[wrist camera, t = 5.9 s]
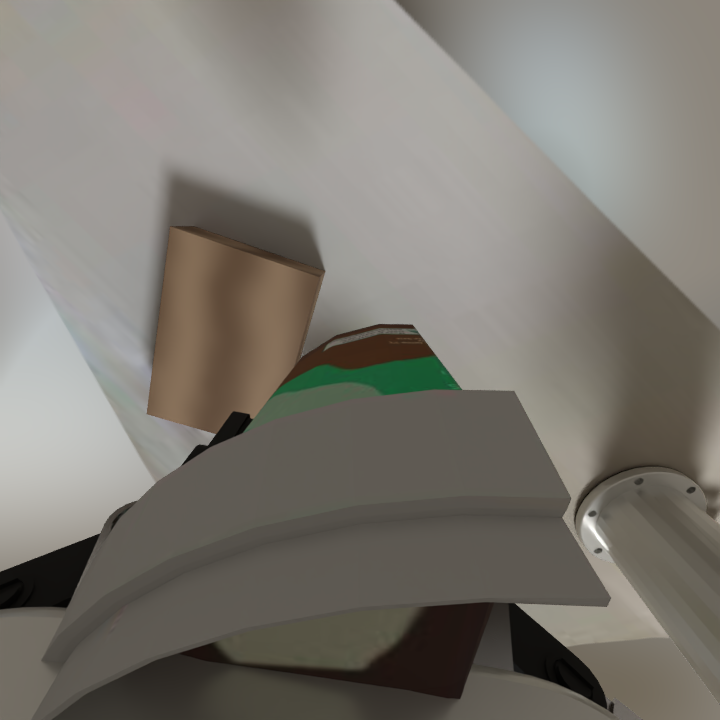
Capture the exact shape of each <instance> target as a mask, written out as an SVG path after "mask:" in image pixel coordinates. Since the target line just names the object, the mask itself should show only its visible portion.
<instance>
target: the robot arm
mask: <svg viewBox="0 0 720 720" xmlns="http://www.w3.org/2000/svg"><path fill="white" fill-rule="evenodd" d="M252 421H253V419H251V418H250V414H247V413H242V412H236V411H233V412H232V413H231V415H230V416H229V417H228V419H227V420H226V421H225V423H224V424H223V426H222V427H221V428H220V430H219V431H218V433H217V434H216V435H215V437H214V438H213V440H212V441H211V442H210V444H209V445H208V446H205V445H197V446H196V447H195V449H194V450H193V451H192V452H191V454H190V455H189V456H188V458H187V459H186V460H185V461H184V463H183V464H182V465H184V464H185V463H187V462H188V461H190V460H191V459H193V458H195V457H196V456H198V455H199V454H201V453H202V452H204V451H205V450H207V449H208V448H210V447H212V446H215V445H217V444H219V443H221V442H224V441H226V440H228V439H231V438H233V437H235V436H238V435H240V434H242V433H243V432H244V431H245V430H246V428H247V427H248V426H249V424H250V423H251V422H252ZM182 465H181V466H182ZM136 502H137V501H134V502H132V503H129V504H126V505H125V506H123V507H121V508H119V509H117V510H116V511H115V512H114V513H113V514H112V515H110V516H109V518H108V519H107V521H106V523H105V524H104V527H103V529H102V531H101V533H100V534H97V535H95V536H92V537H90V538H87V539H85V540H82V541H79V542H77V543H74V544H71V545H69V546H66V547H64V548H61V549H58V550H56V551H53V552H51V553H48V554H46V555H43V556H40V557H38V558H35V559H32V560H30V561H27V562H25V563H22V564H20V565H17V566H14V567H12V568H9V569H7V570H4V571H1V572H0V720H31V719H32V717H33V716H34V714H35V712H36V711H37V709H38V707H39V705H40V704H41V702H42V700H43V699H44V697H45V695H46V694H47V692H48V690H49V688H50V687H51V685H52V683H53V682H54V680H55V678H56V677H57V675H58V673H59V672H60V670H61V668H62V667H63V665H64V663H65V662H50V661H41V659H42V658H43V656H44V654H45V652H46V650H47V648H48V646H49V644H50V642H51V640H52V639H53V637H54V635H55V633H56V631H57V629H58V627H59V625H60V623H61V621H62V620H63V617H64V615H65V612H66V609H67V607H68V605H69V603H70V601H71V600H72V598H73V596H74V594H75V592H76V590H77V588H78V587H79V585H80V583H81V581H82V579H83V577H84V575H85V574H86V572H87V570H88V568H89V566H90V564H91V562H92V561H93V559H94V557H95V555H96V554H97V552H98V551H99V549H100V548H101V546H102V545H103V543H104V541H105V540H106V538H107V537H108V535H109V534H110V532H111V531H112V529H113V528H114V526H115V525H116V523H117V521H118V520H119V519H120V518H121V517H122V516H123V515H124V514H125V513H126V512H127V511H128V510H129V509H130V508H131V507H132V506H133V505H134V504H135V503H136ZM706 512H707V501H706V498H705V495H704V493H703V491H702V490H701V488H700V487H699V486H698V485H697V484H696V483H695V482H694V481H692V480H691V479H690V478H689V477H687V476H686V475H684V474H683V473H681V472H679V471H676V470H673V469H670V468H664V467H642V468H635V469H631V470H628V471H625V472H621V473H619V474H617V475H615V476H612V477H610V478H609V479H607V480H605V481H604V482H602V483H600V484H599V485H598V486H597V487H596V488H594V489H593V490H592V491H591V492H590V493H589V494H588V496H587V497H586V498H585V499H584V501H583V502H582V504H581V506H580V507H579V510H578V513H577V516H576V524H575V526H576V531H577V535H578V537H579V539H580V541H581V542H582V543H583V545H584V546H585V548H586V549H587V550H588V551H589V552H590V553H591V554H592V555H594V556H595V557H597V558H599V559H601V560H604V561H607V562H610V563H615V564H616V565H617V566H618V568H619V569H620V571H621V572H622V573H623V575H624V576H625V577H626V579H627V580H628V581H629V583H630V584H631V585H632V587H633V588H634V590H635V591H636V592H637V594H638V595H639V596H640V598H641V599H642V600H643V602H644V603H645V604H646V606H647V607H648V608H649V610H650V611H651V613H652V614H653V615H654V617H655V618H656V619H657V621H658V622H659V623H660V625H661V626H662V627H663V629H664V630H665V632H666V633H667V634H668V636H669V637H670V638H671V640H672V641H673V642H674V644H675V645H676V646H677V648H678V649H679V650H680V652H681V653H682V654H683V656H684V657H685V658H686V660H687V661H688V663H689V664H690V665H691V667H692V668H693V669H694V671H695V672H696V674H697V675H698V676H699V677H700V679H701V680H702V682H703V683H704V684H705V686H706V687H707V688H708V690H709V691H710V692H711V694H712V695H713V697H714V698H715V699H716V701H717V702H718V703H719V705H720V524H719V523H717V522H716V521H715V520H714V519H713V518H711V517H710V516H709V515H708V514H707V513H706ZM52 720H643V719H641V718H640V717H639V716H637V715H636V714H635V713H634V712H632V711H631V710H630V709H629V708H628V707H626V706H625V705H624V704H623V703H621V702H620V701H619V700H617V699H616V698H614V699H613V701H610V700H609V699H608V698H607V697H605V695H604V692H603V690H602V688H601V686H600V684H599V682H598V680H597V679H596V678H595V676H594V675H593V674H592V672H591V671H590V669H589V668H588V667H587V666H586V665H585V664H584V663H583V662H582V661H581V660H580V659H579V658H578V657H576V656H575V655H574V654H573V653H572V652H571V651H569V650H568V649H567V648H566V647H565V646H564V645H562V644H561V643H560V642H559V641H558V640H557V639H555V638H554V637H553V636H552V635H551V634H550V633H548V632H547V631H546V630H545V629H544V628H543V627H541V626H540V625H539V624H538V623H537V622H536V621H534V620H533V619H532V618H531V617H530V616H529V615H527V614H526V613H525V612H524V611H523V610H522V609H521V608H519V607H518V606H517V605H516V604H515V603H497V602H494V605H493V608H492V611H491V613H490V616H489V619H488V622H487V625H486V627H485V630H484V633H483V636H482V639H481V641H480V644H479V647H478V650H477V653H476V656H475V658H474V661H473V664H472V667H471V670H470V672H469V675H468V678H467V681H466V684H465V686H464V690H463V693H462V696H461V699H453V698H450V699H448V698H443V697H438V696H433V695H428V694H423V693H418V692H414V691H410V690H403V689H396V688H389V687H382V686H375V685H369V684H362V683H355V682H348V681H341V680H335V679H328V678H321V677H314V676H307V675H300V674H293V673H286V672H279V671H272V670H266V669H259V668H252V667H245V666H237V665H230V664H223V663H215V662H208V661H204V660H200V659H196V658H192V657H189V656H185V655H181V654H174V655H171V656H167V657H164V658H161V659H158V660H155V661H153V662H151V663H149V664H147V665H145V666H143V667H141V668H138V669H136V670H134V671H132V672H130V673H128V674H126V675H124V676H122V677H120V678H118V679H116V680H114V681H111V682H109V683H107V684H105V685H103V686H101V687H99V688H97V689H95V690H93V691H91V692H89V693H87V694H85V695H84V696H82V697H81V698H80V699H78V700H77V701H76V702H74V703H73V704H72V705H70V706H69V707H68V708H66V709H65V710H64V711H63V712H61V713H60V714H59V715H57V716H56V717H55V718H53V719H52Z"/></svg>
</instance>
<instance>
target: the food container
mask: <svg viewBox="0 0 720 720" xmlns="http://www.w3.org/2000/svg"><path fill="white" fill-rule="evenodd" d="M570 500H571V497H570V495H569V493H568V491H567V489H566V487H565V485H564V484H563V482H562V480H561V478H560V476H559V474H558V472H557V470H556V468H555V467H554V465H553V463H552V461H551V459H550V457H549V455H548V453H547V452H546V450H545V448H544V446H543V444H542V442H541V440H540V438H539V437H538V435H537V433H536V431H535V429H534V427H533V425H532V423H531V422H530V420H529V418H528V416H527V414H526V412H525V410H524V408H523V407H522V405H521V403H520V401H519V399H518V397H517V395H516V393H515V392H514V391H487V390H462V389H461V388H460V386H459V385H458V384H457V382H456V381H455V380H454V378H453V377H452V376H451V374H450V373H449V372H448V371H447V369H446V368H445V367H444V365H443V364H442V363H441V361H440V360H439V359H438V357H437V356H436V355H435V354H434V352H433V351H432V350H431V348H430V347H429V346H428V344H427V343H426V342H425V340H424V339H423V338H422V336H421V335H420V334H419V333H418V331H417V330H416V329H415V327H414V326H413V325H404V324H378V325H374V326H370V327H366V328H362V329H359V330H355V331H351V332H347V333H343V334H339V335H336V336H335V337H333V338H331V339H330V340H328V341H327V342H325V343H323V344H322V345H320V346H319V347H317V348H315V349H314V350H312V351H311V352H309V353H308V354H306V355H304V356H303V357H302V358H301V359H300V360H299V362H298V363H297V364H296V365H295V367H294V368H293V369H292V370H291V372H290V373H289V374H288V375H287V377H286V378H285V379H284V380H283V382H282V383H281V384H280V385H279V387H278V388H277V389H276V391H275V392H274V393H273V395H272V396H271V397H270V398H269V400H268V401H267V402H266V404H265V405H264V406H263V408H262V409H261V410H260V411H259V413H258V414H257V415H256V417H255V418H254V419H253V421H252V422H251V423H250V424H249V426H248V427H247V428H246V430H245V431H244V432H243V433H242V434H240V435H238V436H235V437H233V438H231V439H228V440H226V441H224V442H221V443H219V444H217V445H215V446H212V447H210V448H208V449H207V450H205V451H204V452H202V453H201V454H199V455H198V456H196V457H195V458H193V459H191V460H190V461H188V462H187V463H185V464H184V465H182V466H181V467H179V468H178V469H176V470H175V471H173V472H171V473H170V474H168V475H167V476H165V477H164V478H162V479H161V480H159V481H158V482H157V483H156V484H155V485H154V486H152V487H151V489H149V490H148V491H147V492H146V493H145V494H144V495H143V496H142V497H141V498H140V499H139V500H138V501H137V502H136V503H135V504H134V505H133V506H132V507H131V508H130V509H129V510H128V511H127V512H126V513H125V514H124V515H123V516H122V517H121V518H120V519H119V520H118V521H117V523H116V525H115V526H114V528H113V529H112V531H111V532H110V534H109V535H108V537H107V538H106V540H105V541H104V543H103V545H102V546H101V548H100V549H99V551H98V552H97V554H96V555H95V557H94V559H93V561H92V562H91V564H90V566H89V568H88V570H87V572H86V574H85V575H84V577H83V579H82V581H81V583H80V585H79V587H78V588H77V590H76V592H75V594H74V596H73V598H72V600H71V601H70V603H69V605H68V607H67V609H66V612H65V615H64V617H63V620H62V621H61V623H60V625H59V627H58V629H57V631H56V633H55V635H54V637H53V639H52V640H51V642H50V644H49V646H48V648H47V650H46V652H45V654H44V656H43V658H42V659H41V661H50V662H65V663H64V665H63V667H62V668H61V670H60V672H59V673H58V675H57V677H56V678H55V680H54V682H53V683H52V685H51V687H50V688H49V690H48V692H47V694H46V695H45V697H44V699H43V700H42V702H41V704H40V705H39V707H38V709H37V711H36V712H35V714H34V716H33V717H32V719H31V720H52V719H53V718H55V717H56V716H57V715H59V714H60V713H61V712H63V711H64V710H65V709H66V708H68V707H69V706H70V705H72V704H73V703H74V702H76V701H77V700H78V699H80V698H81V697H82V696H84V695H85V694H87V693H89V692H91V691H93V690H95V689H97V688H99V687H101V686H103V685H105V684H107V683H109V682H111V681H114V680H116V679H118V678H120V677H122V676H124V675H126V674H128V673H130V672H132V671H134V670H136V669H138V668H141V667H143V666H145V665H147V664H149V663H151V662H153V661H155V660H158V659H161V658H164V657H167V656H171V655H174V654H181V655H185V656H189V657H192V658H196V659H200V660H204V661H208V662H215V663H223V664H230V665H237V666H245V667H252V668H259V669H266V670H272V671H279V672H286V673H293V674H300V675H307V676H314V677H321V678H328V679H335V680H341V681H348V682H355V683H362V684H369V685H375V686H382V687H389V688H396V689H403V690H410V691H414V692H418V693H423V694H428V695H433V696H438V697H443V698H448V699H450V698H453V699H461V696H462V693H463V690H464V686H465V684H466V681H467V678H468V675H469V672H470V670H471V667H472V664H473V661H474V658H475V656H476V653H477V650H478V647H479V644H480V641H481V639H482V636H483V633H484V630H485V627H486V625H487V622H488V619H489V616H490V613H491V611H492V608H493V605H494V602H497V603H523V604H549V605H574V606H600V607H607V606H608V604H609V601H610V599H611V597H610V596H609V594H608V592H607V591H606V589H605V587H604V586H603V584H602V582H601V581H600V579H599V577H598V576H597V574H596V573H595V571H594V569H593V568H592V566H591V564H590V563H589V561H588V559H587V558H586V556H585V554H584V553H583V551H582V550H581V548H580V546H579V545H578V543H577V541H576V540H575V538H574V536H573V535H572V533H571V532H570V530H569V528H568V527H567V525H566V523H565V522H564V520H563V518H562V516H563V515H564V513H565V512H566V510H567V508H568V505H569V503H570Z"/></svg>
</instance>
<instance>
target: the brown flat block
mask: <svg viewBox="0 0 720 720" xmlns="http://www.w3.org/2000/svg"><path fill="white" fill-rule="evenodd" d="M324 274H325V271H323V270H320V269H317V268H314V267H311V266H308V265H305V264H302V263H299V262H296V261H293V260H291V259H288V258H285V257H282V256H279V255H276V254H273V253H270V252H267V251H264V250H261V249H258V248H255V247H253V246H250V245H247V244H244V243H241V242H238V241H235V240H232V239H229V238H226V237H223V236H220V235H217V234H215V233H212V232H209V231H206V230H203V229H200V228H197V227H194V226H170V232H169V240H168V248H167V256H166V264H165V272H164V280H163V288H162V296H161V304H160V312H159V320H158V328H157V336H156V344H155V352H154V360H153V368H152V376H151V384H150V392H149V400H148V408H147V414H148V415H152V416H155V417H159V418H162V419H166V420H169V421H173V422H176V423H180V424H183V425H187V426H190V427H193V428H197V429H200V430H204V431H207V432H211V433H214V434H217V433H218V431H219V430H220V428H221V427H222V426H223V424H224V423H225V421H226V420H227V419H228V417H229V416H230V415H231V413H232V412H233V411H236V412H242V413H247V414H250V418H251V419H254V418H255V417H256V415H257V414H258V413H259V411H260V410H261V409H262V408H263V406H264V405H265V404H266V402H267V401H268V400H269V398H270V397H271V396H272V395H273V393H274V392H275V391H276V389H277V388H278V387H279V385H280V384H281V383H282V382H283V380H284V379H285V378H286V377H287V375H288V374H289V373H290V372H291V370H292V369H293V368H294V367H295V365H296V364H297V363H298V362H299V360H300V356H301V353H302V350H303V346H304V343H305V339H306V336H307V332H308V329H309V326H310V322H311V319H312V315H313V312H314V308H315V305H316V301H317V298H318V295H319V291H320V288H321V284H322V281H323V277H324Z"/></svg>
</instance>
